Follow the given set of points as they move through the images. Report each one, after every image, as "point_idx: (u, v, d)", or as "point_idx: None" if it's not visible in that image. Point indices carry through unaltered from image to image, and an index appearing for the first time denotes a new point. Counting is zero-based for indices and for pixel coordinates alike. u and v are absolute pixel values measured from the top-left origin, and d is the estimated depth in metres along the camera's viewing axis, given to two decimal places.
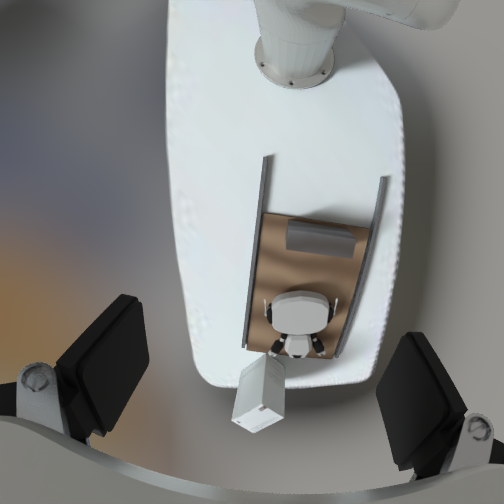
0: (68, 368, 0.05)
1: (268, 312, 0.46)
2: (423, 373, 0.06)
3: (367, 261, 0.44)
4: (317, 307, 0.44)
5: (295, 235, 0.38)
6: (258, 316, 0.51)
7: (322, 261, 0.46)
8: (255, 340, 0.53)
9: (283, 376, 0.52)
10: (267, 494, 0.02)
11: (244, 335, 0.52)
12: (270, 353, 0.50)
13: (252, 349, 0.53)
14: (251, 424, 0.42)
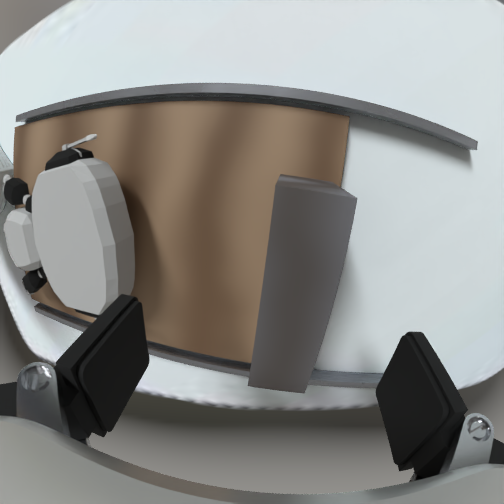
0: (68, 368, 0.05)
1: (68, 152, 0.13)
2: (423, 373, 0.06)
3: (227, 370, 0.20)
4: (95, 290, 0.14)
5: (333, 222, 0.10)
6: (69, 131, 0.16)
7: (216, 275, 0.18)
8: (29, 139, 0.16)
9: None
10: (267, 494, 0.02)
11: (34, 112, 0.15)
12: (5, 180, 0.15)
13: (16, 139, 0.16)
14: None
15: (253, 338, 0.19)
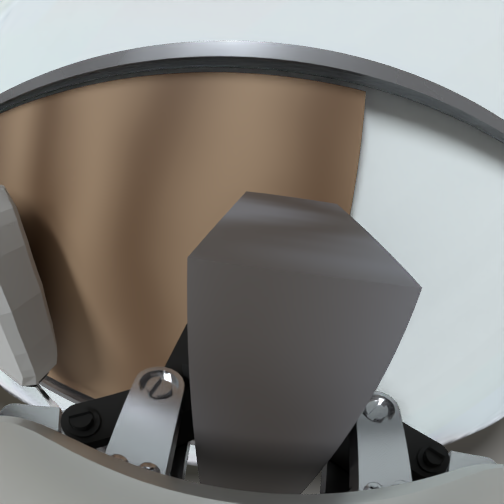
0: None
1: None
2: None
3: (191, 442, 0.14)
4: (9, 361, 0.08)
5: (353, 348, 0.03)
6: None
7: (159, 341, 0.11)
8: None
9: None
10: (267, 494, 0.02)
11: None
12: None
13: None
14: None
15: None
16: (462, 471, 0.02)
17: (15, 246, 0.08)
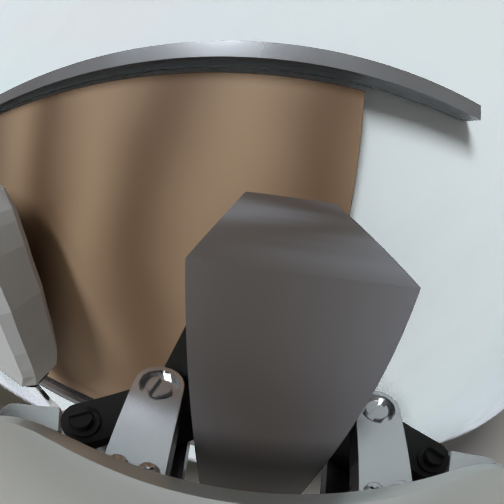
0: None
1: None
2: None
3: None
4: (9, 361, 0.08)
5: (351, 348, 0.03)
6: None
7: (159, 341, 0.11)
8: None
9: None
10: (267, 494, 0.02)
11: None
12: None
13: None
14: None
15: None
16: (462, 471, 0.02)
17: (15, 246, 0.08)
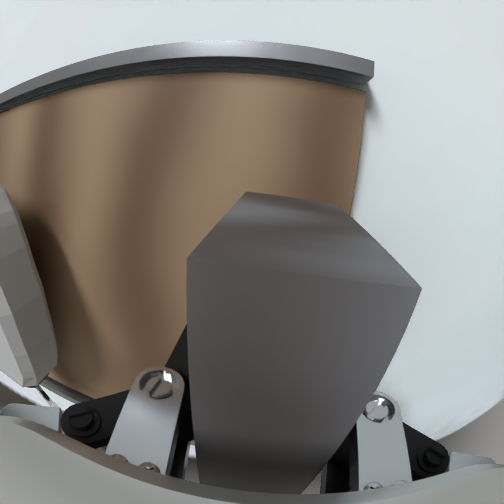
0: None
1: None
2: None
3: (73, 401, 0.14)
4: (10, 362, 0.08)
5: (352, 349, 0.03)
6: None
7: (159, 341, 0.11)
8: None
9: None
10: (267, 494, 0.02)
11: None
12: None
13: None
14: None
15: None
16: (462, 471, 0.02)
17: (15, 248, 0.08)
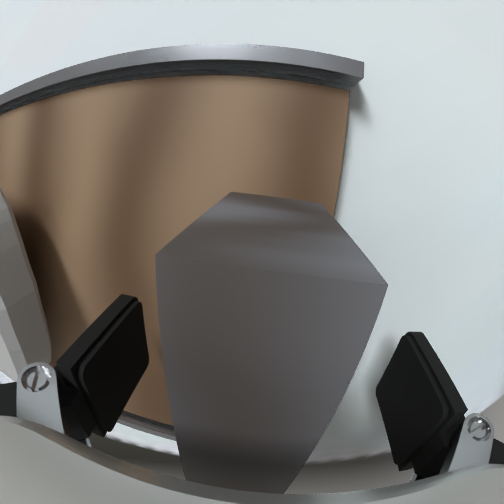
0: (68, 368, 0.05)
1: None
2: (423, 373, 0.06)
3: None
4: (5, 358, 0.08)
5: (319, 344, 0.04)
6: None
7: (150, 339, 0.12)
8: None
9: None
10: (267, 494, 0.02)
11: None
12: None
13: None
14: None
15: None
16: (462, 471, 0.02)
17: (10, 245, 0.08)
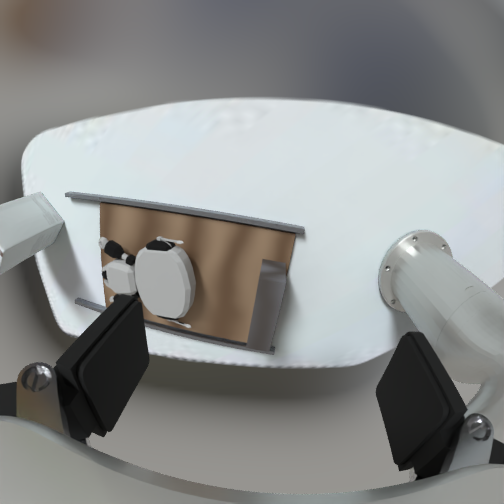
0: (68, 368, 0.05)
1: (163, 244, 0.32)
2: (423, 373, 0.06)
3: (182, 334, 0.41)
4: (177, 307, 0.34)
5: (277, 290, 0.30)
6: (150, 220, 0.35)
7: (231, 299, 0.38)
8: (115, 215, 0.36)
9: (42, 248, 0.36)
10: (267, 494, 0.02)
11: (79, 196, 0.35)
12: (102, 240, 0.35)
13: (102, 211, 0.36)
14: None
15: (247, 329, 0.40)
16: (462, 471, 0.02)
17: (190, 268, 0.34)
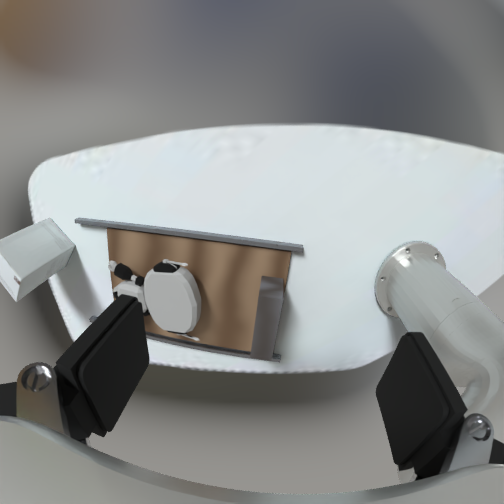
0: (68, 368, 0.05)
1: (169, 266, 0.35)
2: (423, 373, 0.06)
3: (194, 347, 0.43)
4: (185, 323, 0.37)
5: (276, 306, 0.33)
6: (155, 243, 0.38)
7: (234, 313, 0.41)
8: (122, 239, 0.39)
9: (55, 272, 0.39)
10: (267, 494, 0.02)
11: (88, 222, 0.38)
12: (112, 264, 0.38)
13: (109, 235, 0.39)
14: None
15: (251, 339, 0.42)
16: (462, 471, 0.02)
17: (195, 287, 0.37)
